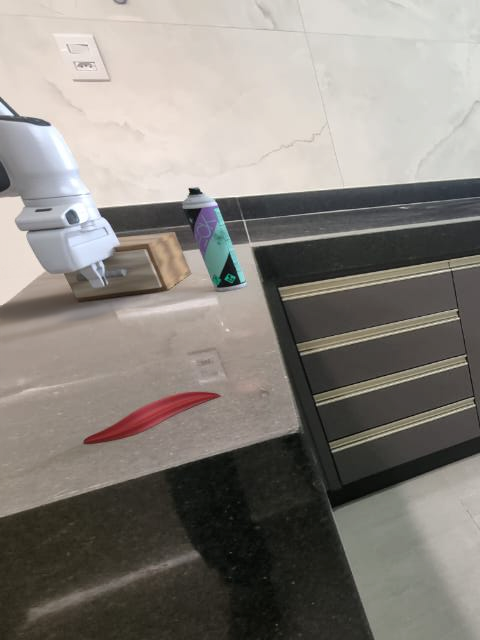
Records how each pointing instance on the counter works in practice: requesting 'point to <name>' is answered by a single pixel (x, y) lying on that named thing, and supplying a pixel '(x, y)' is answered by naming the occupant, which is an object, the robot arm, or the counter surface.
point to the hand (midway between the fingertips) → (100, 286)
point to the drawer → (119, 275)
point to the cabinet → (154, 260)
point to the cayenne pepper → (151, 415)
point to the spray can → (213, 241)
